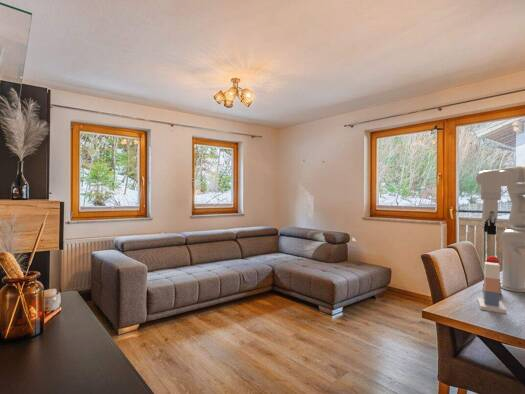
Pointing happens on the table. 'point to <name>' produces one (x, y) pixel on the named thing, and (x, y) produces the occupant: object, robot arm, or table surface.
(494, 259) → the stacking toy
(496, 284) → the terracotta brick
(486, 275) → the cream brick
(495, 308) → the tower base
